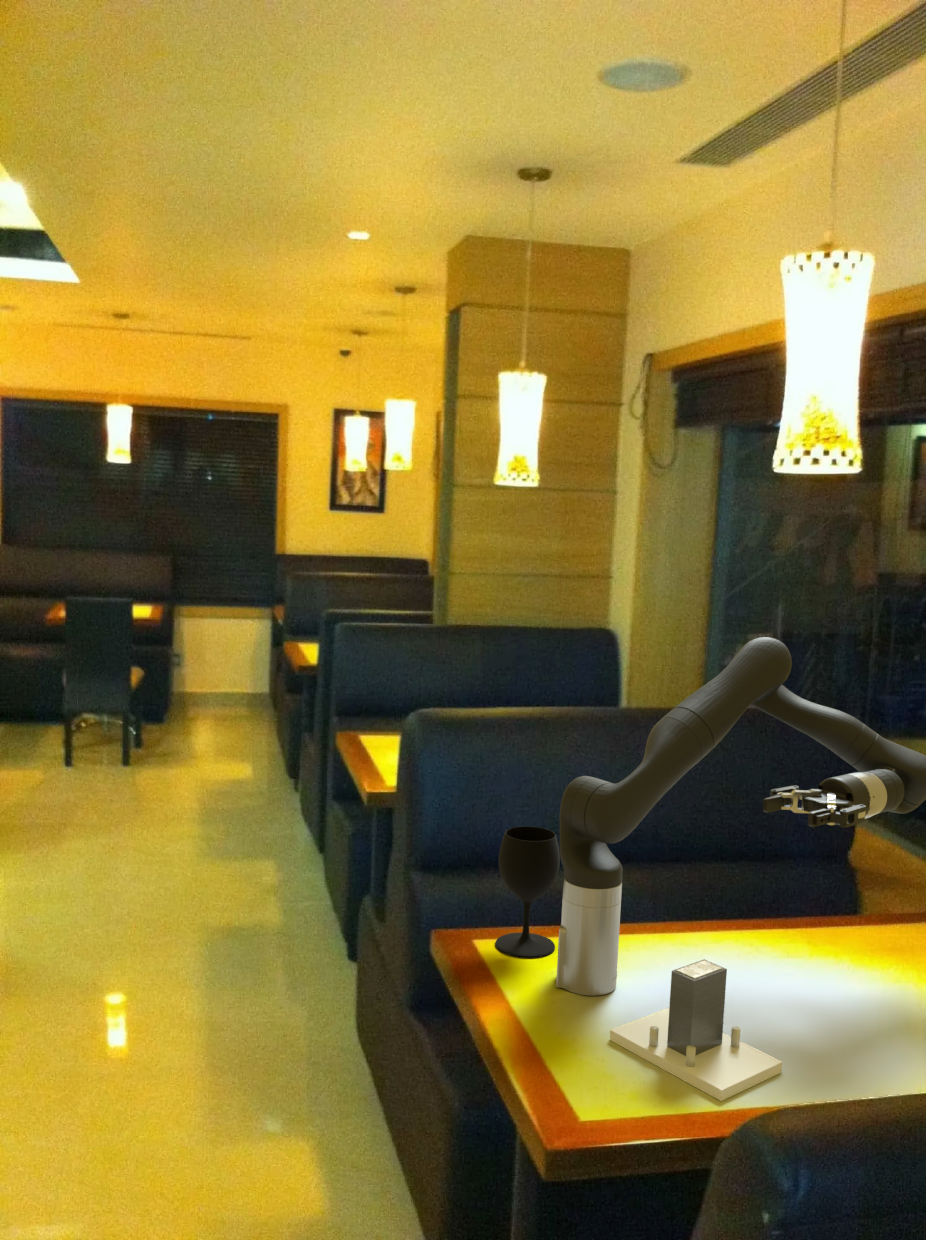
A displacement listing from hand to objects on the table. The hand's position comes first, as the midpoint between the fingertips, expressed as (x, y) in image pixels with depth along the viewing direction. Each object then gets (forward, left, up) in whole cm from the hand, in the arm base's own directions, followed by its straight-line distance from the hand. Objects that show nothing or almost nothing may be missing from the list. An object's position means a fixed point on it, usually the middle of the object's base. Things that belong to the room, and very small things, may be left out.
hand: (787, 812), depth 172 cm
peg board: (-12, -21, -30) cm, 39 cm away
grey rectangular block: (-12, -21, -29) cm, 38 cm away
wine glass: (-41, +10, -31) cm, 52 cm away
